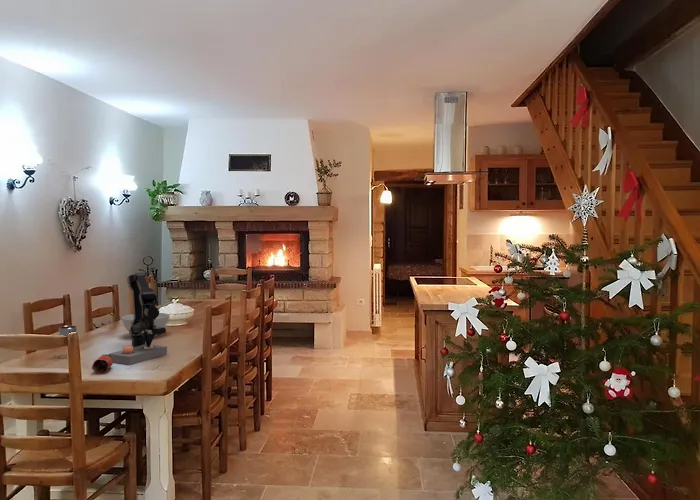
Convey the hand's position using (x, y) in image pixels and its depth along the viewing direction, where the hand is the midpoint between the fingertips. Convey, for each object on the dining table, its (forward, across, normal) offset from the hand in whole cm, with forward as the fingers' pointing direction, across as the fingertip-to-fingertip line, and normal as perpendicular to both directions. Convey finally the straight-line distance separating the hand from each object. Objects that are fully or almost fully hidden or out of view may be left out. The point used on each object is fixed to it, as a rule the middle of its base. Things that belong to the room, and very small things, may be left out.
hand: (148, 346), depth 272 cm
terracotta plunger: (+2, 0, -13) cm, 13 cm away
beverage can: (+5, +4, -31) cm, 31 cm away
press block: (+4, 0, -6) cm, 8 cm away
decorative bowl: (+5, -37, +34) cm, 51 cm away
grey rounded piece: (+4, 0, 0) cm, 4 cm away
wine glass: (+5, -34, -20) cm, 39 cm away
